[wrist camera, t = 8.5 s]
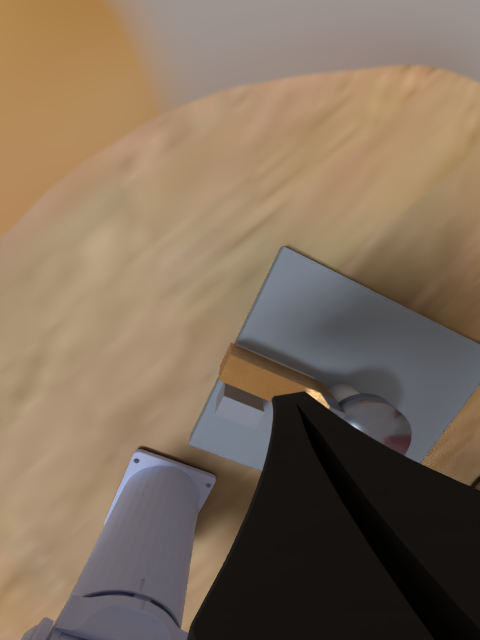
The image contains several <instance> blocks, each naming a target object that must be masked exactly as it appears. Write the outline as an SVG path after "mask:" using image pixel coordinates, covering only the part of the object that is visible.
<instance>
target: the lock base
mask: <svg viewBox="0 0 480 640" xmlns="http://www.w3.org/2000/svg"><path fill="white" fill-rule="evenodd" d="M234 344H235V345H237V346H240V347H242V348H244V349H246V350H249V351H251V352H253V353H256V354H258V355H260V356H263V357H265V358H267V359H269V360H272V361H274V362H276V363H279V364H281V365H283V366H286V367H288V368H290V369H292V370H295V371H297V372H299V373H302V374H304V375H306V376H309V377H311V378H313V379H315V380H318V381H320V382H322V383H323V384H324V385H325V387H326V388H327V389H328V391H329V392H330V393H331V395H332V396H333V397H334V399H335V400H336V401H337V403H338V402H340V401H341V400H343V399H345V398H347V397H349V396H352V395H355V394H361V393H369V394H375V395H378V396H381V397H383V398H384V399H386V400H387V401H388V402H389V403H391V404H392V405H393V406H394V407H395V408H396V409H397V410H399V411H400V412H401V413H402V414H403V415H404V416H405V417H406V418H407V420H408V421H409V423H410V426H411V430H412V439H411V443H410V446H409V448H408V451H407V452H406V454H405V455H404V456H406V457H408V458H410V459H412V460H414V461H416V462H418V463H421V462H422V460H423V459H424V458H425V456H426V455H427V454H428V452H429V451H430V450H431V448H432V447H433V446H434V444H435V443H436V442H437V440H438V439H439V438H440V436H441V435H442V434H443V432H444V431H445V430H446V428H447V427H448V426H449V424H450V423H451V422H452V420H453V419H454V418H455V416H456V415H457V414H458V412H459V411H460V410H461V408H462V407H463V406H464V405H465V403H466V402H467V401H468V399H469V398H470V397H471V395H472V394H473V393H474V391H475V390H476V389H477V387H478V386H479V385H480V344H478V343H476V342H474V341H472V340H470V339H468V338H466V337H464V336H462V335H460V334H458V333H456V332H454V331H452V330H450V329H448V328H446V327H444V326H442V325H440V324H438V323H436V322H434V321H432V320H430V319H428V318H426V317H424V316H422V315H420V314H418V313H416V312H414V311H412V310H410V309H408V308H406V307H404V306H402V305H400V304H398V303H396V302H394V301H392V300H390V299H388V298H386V297H384V296H382V295H380V294H378V293H376V292H374V291H372V290H370V289H368V288H366V287H364V286H362V285H360V284H358V283H356V282H354V281H352V280H350V279H348V278H346V277H344V276H342V275H340V274H338V273H336V272H334V271H332V270H330V269H328V268H326V267H324V266H322V265H320V264H318V263H316V262H314V261H312V260H310V259H308V258H306V257H304V256H302V255H300V254H298V253H296V252H294V251H292V250H290V249H288V248H286V247H284V246H283V247H281V248H280V250H279V252H278V254H277V256H276V258H275V260H274V262H273V264H272V266H271V268H270V270H269V273H268V275H267V277H266V279H265V281H264V283H263V285H262V287H261V289H260V291H259V293H258V295H257V298H256V300H255V302H254V304H253V306H252V308H251V310H250V312H249V314H248V316H247V318H246V320H245V323H244V325H243V327H242V329H241V331H240V333H239V335H238V337H237V339H236V341H235V343H234ZM218 378H219V377H218ZM272 422H273V406H272V402H270V401H268V400H265V399H263V398H260V397H258V396H255V395H253V394H251V393H248V392H246V391H243V390H241V389H238V388H236V387H234V386H231V385H229V384H226V383H224V382H221V381H219V380H218V379H217V381H216V383H215V385H214V387H213V389H212V391H211V393H210V395H209V398H208V400H207V402H206V404H205V406H204V408H203V410H202V412H201V414H200V416H199V418H198V420H197V423H196V425H195V427H194V429H193V431H192V433H191V435H190V439H189V443H188V445H191V446H194V447H196V448H199V449H202V450H205V451H207V452H210V453H213V454H216V455H218V456H221V457H224V458H227V459H229V460H232V461H235V462H238V463H241V464H243V465H246V466H249V467H252V468H254V469H257V470H260V471H262V470H263V466H264V463H265V459H266V455H267V451H268V446H269V441H270V436H271V430H272Z"/></svg>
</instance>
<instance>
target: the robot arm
mask: <svg viewBox="0 0 480 640" xmlns="http://www.w3.org/2000/svg"><path fill="white" fill-rule="evenodd" d="M272 406H273V422H272V430H271V436H270V441H269V446H268V451H267V455H266V459H265V463H264V466H263V470H262V473H261V476H260V479H259V482H258V485H257V488H256V490H255V493H254V496H253V499H252V501H251V504H250V507H249V509H248V512H247V514H246V516H245V519H244V521H243V523H242V525H241V527H240V530H239V532H238V534H237V536H236V538H235V541H234V543H233V545H232V547H231V549H230V551H229V554H228V556H227V558H226V560H225V562H224V564H223V566H222V568H221V569H220V571H219V573H218V575H217V577H216V579H215V581H214V582H213V584H212V586H211V588H210V590H209V592H208V594H207V596H206V597H205V599H204V601H203V603H202V605H201V607H200V609H199V610H198V612H197V614H196V616H195V618H194V620H193V622H192V624H191V626H190V630H189V633H187V632H185V631H183V630H181V625H182V618H183V611H184V604H185V597H186V590H187V584H188V577H189V570H190V563H191V556H192V549H193V542H194V535H195V529H196V522H197V516H198V514H199V512H200V510H201V508H202V507H203V505H204V503H205V501H206V499H207V497H208V495H209V493H210V492H211V490H212V488H213V486H214V484H215V482H216V476H215V475H213V474H211V473H208V472H205V471H202V470H200V469H197V468H194V467H191V466H188V465H185V464H182V463H180V462H177V461H174V460H171V459H168V458H165V457H162V456H160V455H157V454H154V453H151V452H148V451H145V450H142V449H137V450H136V451H135V452H134V454H133V456H132V459H131V461H130V463H129V466H128V468H127V470H126V473H125V475H124V477H123V480H122V482H121V484H120V487H119V489H118V491H117V494H116V496H115V499H114V501H113V503H112V506H111V508H110V510H109V513H108V515H107V517H106V520H105V522H104V524H105V526H104V528H103V530H102V532H101V534H100V536H99V538H98V540H97V542H96V544H95V546H94V548H93V550H92V552H91V554H90V556H89V558H88V560H87V562H86V564H85V566H84V569H83V571H82V573H81V575H80V577H79V579H78V581H77V583H76V585H75V587H74V589H73V591H72V593H71V595H70V597H69V599H68V601H67V603H66V605H65V606H64V608H63V610H62V611H61V613H60V615H59V616H58V618H57V620H56V621H55V623H54V625H53V622H54V621H53V620H51V619H49V618H47V617H46V618H43V619H42V620H41V622H40V623H39V625H36V626H34V627H33V628H31V629H30V630H28V631H27V632H26V633H25V634H24V636H23V637H22V639H21V640H480V490H477V489H475V488H473V487H470V486H468V485H466V484H463V483H461V482H459V481H456V480H454V479H452V478H450V477H448V476H445V475H443V474H441V473H439V472H437V471H435V470H432V469H430V468H428V467H426V466H424V465H422V464H420V463H418V462H416V461H414V460H412V459H410V458H408V457H406V456H404V455H402V454H400V453H398V452H396V451H395V450H393V449H391V448H389V447H387V446H385V445H383V444H382V443H380V442H378V441H376V440H375V439H373V438H371V437H370V436H368V435H367V434H365V433H363V432H362V431H360V430H359V429H357V428H355V427H354V426H352V425H351V424H349V423H348V422H346V421H345V420H343V419H342V418H340V417H339V416H338V415H336V414H335V413H333V412H332V411H331V410H329V409H328V408H327V407H325V406H324V405H323V404H321V403H320V402H319V401H317V400H316V399H315V398H313V397H312V396H311V395H309V394H308V393H307V392H305V391H303V392H296V393H290V394H284V395H278V396H274V397H273V398H272ZM136 458H137V459H139V460H137V459H136ZM207 483H210V484H207ZM52 625H53V626H52ZM51 627H52V628H51ZM50 629H51V630H50Z"/></svg>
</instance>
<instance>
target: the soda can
mask: <svg viewBox="0 0 480 640" xmlns="http://www.w3.org/2000/svg"><path fill="white" fill-rule="evenodd" d="M474 488H475V489H477V490H480V481H479V482H478V483H477V485H476V486H475V487H474Z"/></svg>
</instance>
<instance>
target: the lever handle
mask: <svg viewBox="0 0 480 640" xmlns="http://www.w3.org/2000/svg"><path fill="white" fill-rule="evenodd" d="M218 380H219V381H221V382H224V383H226V384H229V385H231V386H234V387H236V388H238V389H241V390H243V391H246V392H248V393H251V394H253V395H255V396H258V397H260V398H263V399H265V400H268V401H270V402H272V398H273V397H274V396H278V395H284V394H290V393H296V392H303V391H305V392H307V393H308V394H309V395H311V396H312V397H313V398H315V399H316V400H317V401H319V402H320V403H321V404H323V405H324V406H325V407H327V408H328V409H329V410H331V411H332V412H333V413H335V414H336V415H338V416H339V417H340V418H342V419H343V420H345V421H346V422H348V423H349V424H351V425H352V426H354V427H355V428H357V429H359V430H360V431H362V432H363V433H365V434H367V435H368V436H370V437H371V438H373V439H375V440H376V441H378V442H380V443H382V444H383V445H385V446H387V447H389V448H391V449H393V450H395V451H396V452H398V453H400V454H402V455H405V454H406V452H407V451H408V448H409V446H410V443H411V439H412V430H411V426H410V423H409V421H408V420H407V418H406V417H405V416H404V415H403V414H402V413H401V412H400V411H399V410H397V409H396V408H395V407H394V406H393V405H392V404H391V403H389V402H388V401H387V400H386V399H384V398H383V397H381V396H378V395H375V394H369V393H361V394H355V395H352V396H349V397H347V398H345V399H343V400H341V401H340V402H338V403H337V401H336V400H335V399H334V397H333V396H332V395H331V393H330V392H329V391H328V389H327V388H326V387H325V385H324V384H323V383H322V382H320V381H318V380H315V379H313V378H311V377H309V376H306V375H304V374H302V373H299V372H297V371H295V370H292V369H290V368H288V367H286V366H283V365H281V364H279V363H276V362H274V361H272V360H269V359H267V358H265V357H263V356H260V355H258V354H256V353H253V352H251V351H249V350H246V349H244V348H242V347H240V346H237V345H235V344H233V343H231V344H230V346H229V348H228V350H227V352H226V354H225V356H224V358H223V360H222V362H221V365H220V370H219V378H218Z"/></svg>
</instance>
